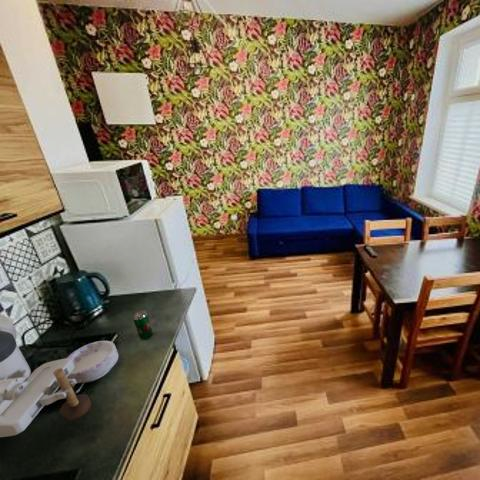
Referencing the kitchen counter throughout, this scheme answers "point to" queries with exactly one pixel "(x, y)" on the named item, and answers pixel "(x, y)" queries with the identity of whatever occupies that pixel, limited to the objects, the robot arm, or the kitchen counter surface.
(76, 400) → the toilet plunger
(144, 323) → the soda can
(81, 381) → the paper bowls
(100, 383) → the kitchen counter surface
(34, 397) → the robot arm
